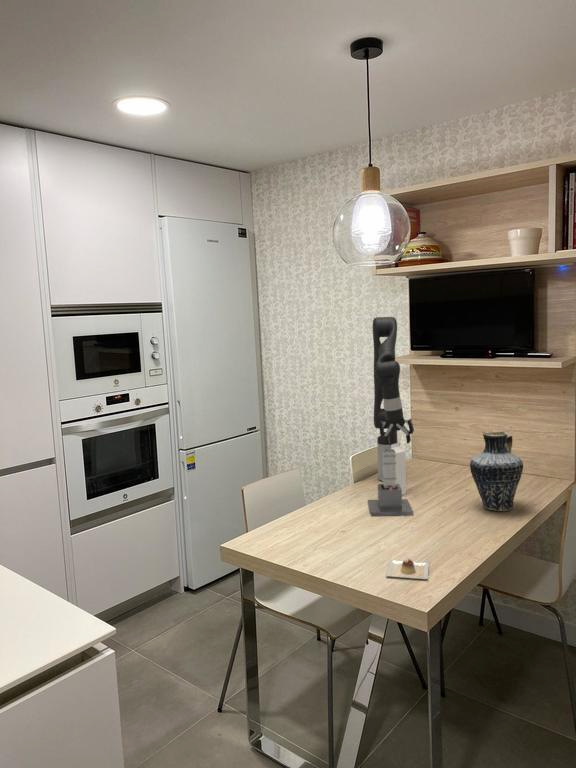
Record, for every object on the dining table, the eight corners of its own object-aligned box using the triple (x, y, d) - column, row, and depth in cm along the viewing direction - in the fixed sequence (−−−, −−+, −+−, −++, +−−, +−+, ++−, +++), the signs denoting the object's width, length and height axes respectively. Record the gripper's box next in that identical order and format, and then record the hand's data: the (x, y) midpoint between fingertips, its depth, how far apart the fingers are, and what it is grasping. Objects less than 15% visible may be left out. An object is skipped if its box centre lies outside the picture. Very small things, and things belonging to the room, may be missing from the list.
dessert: (429, 565, 189) (428, 550, 188) (427, 582, 177) (427, 566, 177) (389, 563, 192) (389, 548, 191) (386, 579, 180) (385, 563, 180)
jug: (511, 519, 225) (512, 439, 221) (461, 510, 237) (461, 434, 234) (531, 505, 240) (531, 430, 237) (483, 496, 253) (483, 425, 249)
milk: (406, 493, 261) (405, 443, 258) (397, 497, 257) (397, 445, 254) (394, 491, 266) (394, 441, 263) (385, 494, 261) (385, 443, 259)
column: (383, 503, 244) (382, 449, 241) (395, 503, 244) (394, 449, 241) (384, 507, 239) (383, 452, 237) (396, 506, 239) (395, 451, 236)
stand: (367, 503, 250) (367, 479, 249) (407, 502, 249) (407, 478, 248) (371, 516, 234) (370, 490, 233) (413, 515, 233) (412, 490, 232)
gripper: (411, 403, 260) (416, 439, 263) (378, 406, 266) (384, 441, 269) (408, 408, 253) (413, 445, 257) (374, 411, 259) (380, 447, 262)
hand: (398, 443), depth 263 cm, fingers open, 8 cm apart
